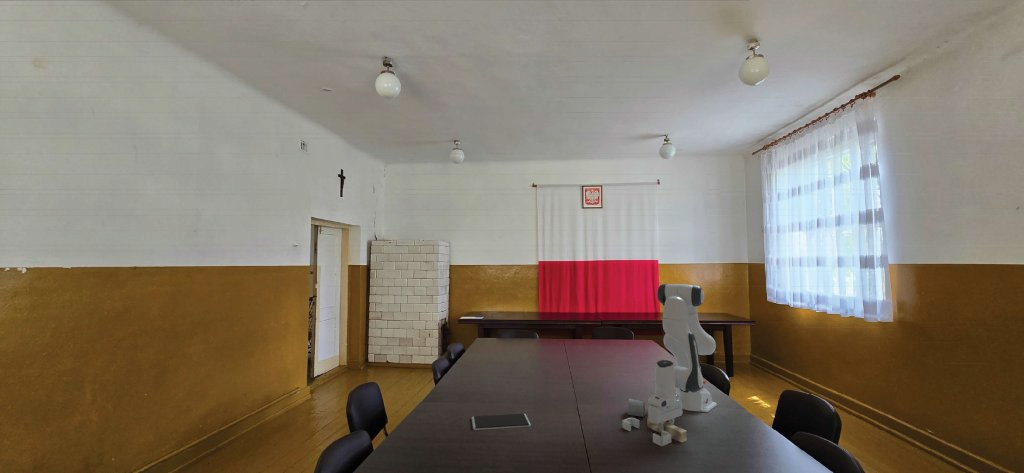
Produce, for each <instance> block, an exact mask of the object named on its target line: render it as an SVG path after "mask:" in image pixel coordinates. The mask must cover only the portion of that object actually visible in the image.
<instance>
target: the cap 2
mask: <svg viewBox="0 0 1024 473" xmlns="http://www.w3.org/2000/svg"><path fill="white" fill-rule="evenodd" d="M660 434H661V435H659V434H656V433H652V442H653V443H654V444H656V445H658V446H660V447H664V446H667V445H669V444H671V443H672V439H673V438H671V434H670V433H668V432H666V431H663V430H662V431H661V433H660Z"/></svg>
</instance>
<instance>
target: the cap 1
mask: <svg viewBox="0 0 1024 473" xmlns="http://www.w3.org/2000/svg"><path fill="white" fill-rule="evenodd" d="M621 423H622V429H623V430H626V431H629V432H632V427H634V428H637V429H640V419H637V418H635V417H634V416H630V417H628V418H625V419H622V420H621Z"/></svg>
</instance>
